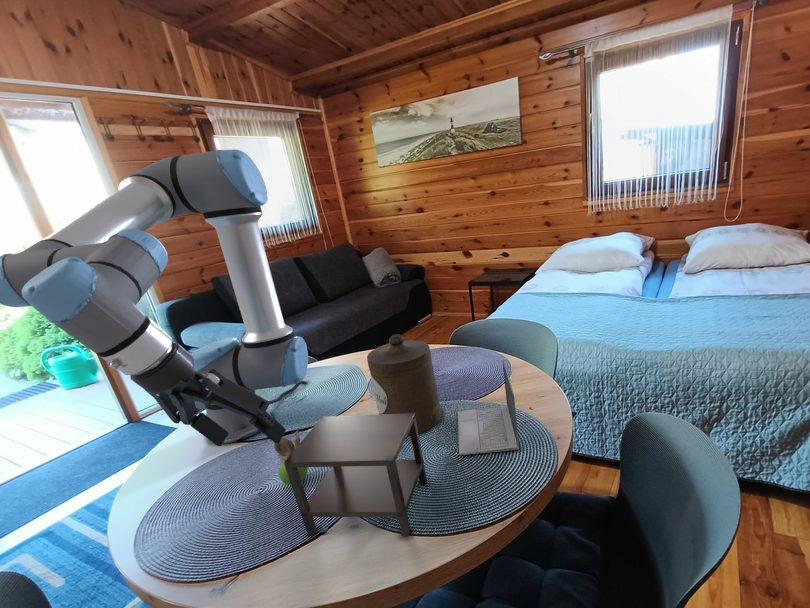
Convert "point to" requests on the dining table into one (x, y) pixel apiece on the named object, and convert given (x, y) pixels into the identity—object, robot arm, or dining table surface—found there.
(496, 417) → the laptop
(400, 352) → the wooden container
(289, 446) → the snail figurine
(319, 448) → the rack
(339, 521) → the dining table surface
